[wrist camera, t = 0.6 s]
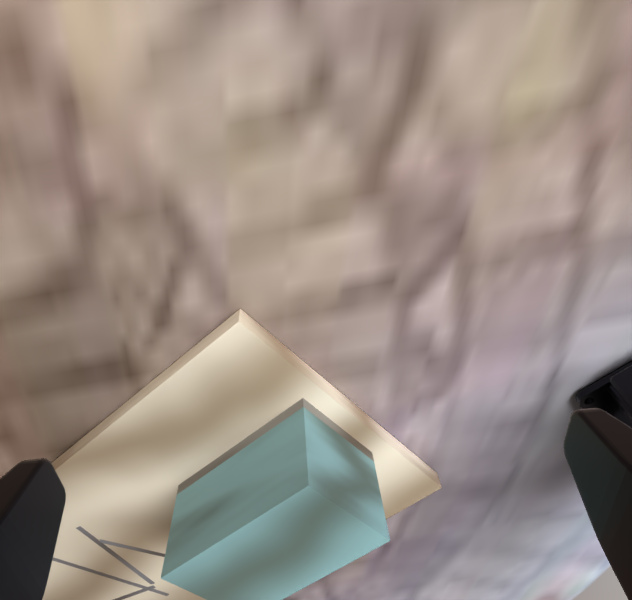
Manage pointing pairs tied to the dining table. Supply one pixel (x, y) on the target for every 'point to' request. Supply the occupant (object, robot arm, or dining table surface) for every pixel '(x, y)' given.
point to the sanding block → (276, 511)
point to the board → (192, 458)
